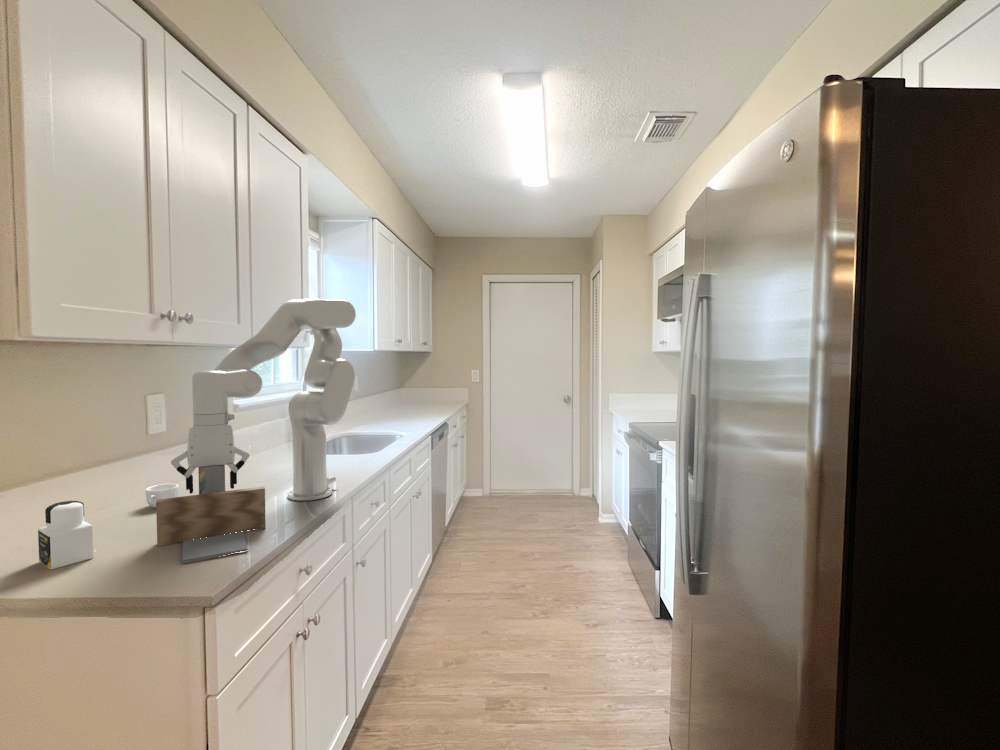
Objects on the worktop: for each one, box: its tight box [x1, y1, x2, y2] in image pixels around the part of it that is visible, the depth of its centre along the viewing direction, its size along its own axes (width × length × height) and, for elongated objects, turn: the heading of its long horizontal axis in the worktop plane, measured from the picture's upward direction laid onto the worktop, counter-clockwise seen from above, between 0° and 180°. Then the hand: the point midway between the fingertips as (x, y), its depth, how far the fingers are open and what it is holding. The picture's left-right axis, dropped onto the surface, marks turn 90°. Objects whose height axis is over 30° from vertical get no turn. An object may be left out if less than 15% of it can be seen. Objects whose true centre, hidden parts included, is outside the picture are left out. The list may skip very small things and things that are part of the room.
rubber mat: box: [181, 532, 249, 565], centre depth 110 cm, size 12×12×1 cm
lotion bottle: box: [198, 465, 226, 495], centre depth 124 cm, size 6×6×20 cm
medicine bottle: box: [37, 500, 95, 571], centre depth 103 cm, size 7×7×12 cm
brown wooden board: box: [155, 486, 266, 547], centre depth 117 cm, size 22×2×10 cm, turn 121°
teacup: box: [145, 483, 180, 509], centre depth 139 cm, size 10×8×5 cm
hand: (212, 489), depth 124 cm, fingers open, 8 cm apart
